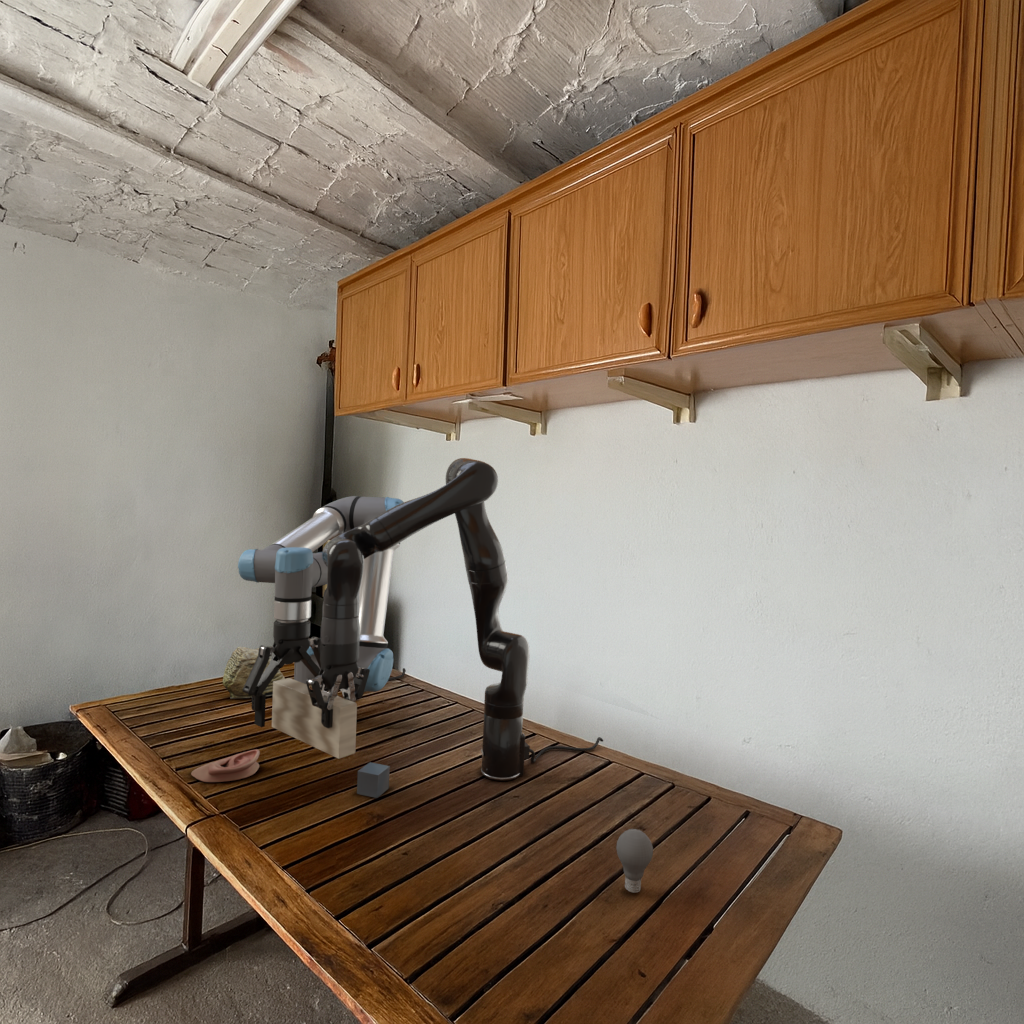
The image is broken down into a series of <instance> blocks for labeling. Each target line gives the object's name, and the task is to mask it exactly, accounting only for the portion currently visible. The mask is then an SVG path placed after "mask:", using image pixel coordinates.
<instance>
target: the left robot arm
mask: <svg viewBox="0 0 1024 1024" xmlns="http://www.w3.org/2000/svg"><path fill="white" fill-rule="evenodd" d="M404 502H405V501H403V500H402V499H400V498H397V497H389V496H386V497H385V496H359V495H351V496H346V497H342V498H339V499H337V500H334V501H332V502H329V503H327V504H325V505H323V506H321V507H320V508H318V509H316V511H315V512H314V513H313V515H312V517H311V518H309V519H308V520H307V521H305V522H304V523H302V524H300V525H299V526H297V527H295V528H294V529H292V530H291V531H289V532H287V534H284V535H283V536H282V537H280V538H278V539H277V540H275V541H274V542H273V543H271V544H269V545H267V546H265V547H264V548H263V549H259V548H254V549H251V548H249V549H246V550H244V551H243V552H242V553H241V554H240V556H239V558H238V561H237V562H238V563H237V569H238V575H239V576H240V578H241V579H243V580H244V581H246V582H253V583H256V584H258V583H267V584H274V604H273V605H274V606H273V607H274V608H273V618H274V619H275V620H274V621H273V627H272V628H273V630H272V631H273V632H272V636H273V644H272V645H268V646H266V645H263V644H262V645H260V646H259V647H258V648H259V652H258V657H257V659H256V661H255V664H254V666H253V668H252V670H251V672H250V674H249V677H248V679H247V681H246V683H245V685H244V687H243V692H245V693H247V694H249V695H252V698H251V710H252V711H254V725H255V726H257V727H260V728H264V727H266V702H267V701H266V700H267V696H266V695H264V694H262V693H263V692H264V691H265V689H266V688H267V686H268V685H269V683H270V682H271V681H272V679H273V678H274V676H275V675H276V673H277V672H278V670H281V669H282V668H283V667H284V666H285V665H291V664H293V663H294V672H293V679H294V680H296V681H299V682H302V683H304V684H306V680H307V679H309V678H310V679H313V678H315V677H316V676H318V675H319V672H320V669H321V663H320V638H321V637H317V636H311V621H310V618H311V617H312V588H317V587H321V586H325V585H327V574H328V567H327V566H326V565H325V564H324V562H323V559H322V552H323V551H318V552H315V551H316V550H318V549H319V548H320V547H322V546H323V545H324V544H327V543H328V542H329V541H330V540H332V539H333V538H335V537H337V536H339V535H341V534H343V533H345V532H347V531H349V530H352V529H354V528H356V527H359V526H361V525H363V524H365V523H367V522H368V521H370V520H371V519H373V518H375V517H376V516H378V515H380V514H382V513H383V512H385V511H387V510H389V509H391V508H393V507H395V506H397V505H399V504H401V503H404ZM400 546H401V542H400V543H398V544H397V545H395V546H393V547H392V548H390V549H388V550H386V551H383V552H378V553H374V554H372V555H371V556H369V557H367V558H365V559H364V568H363V575H362V581H361V586H360V591H359V623H360V639H359V660H358V662H357V665H358V667H364V668H367V669H369V670H370V672H369V676H368V679H367V683H366V686H365V690H364V693H366V692H372V693H377V692H379V691H381V690H382V689H383V688H384V687H385V685H386V684H387V683H388V682H390V681H394V680H398V679H401V678H403V677H404V676H405V674H406V672H407V670H406V668H405V667H402V672H401V674H402V675H401V674H399V675H396V676H392V677H391V675H392V670H393V668H394V667H393V666H394V661H395V659H394V653H393V651H392V650H391V648H388V645H389V642H388V640H387V639H386V638H385V636H384V635H385V634H384V632H385V624H386V618H387V611H388V610H387V608H388V600H389V595H390V594H389V593H390V585H391V577H392V571H393V570H392V569H393V562H394V561H393V560H394V554H395V551H396V550H397V549H398V548H400ZM310 636H311V638H309V637H310ZM272 655H273V656H272ZM269 658H271V660H270V664H269V665H268V667H267V668H266V669H265V667H266V665H267V663H268V661H269ZM264 670H265V671H264ZM355 677H356V676H355ZM354 680H355V678H354V679H353V681H354ZM321 685H322V687H321V688H320V689H321V690H322V688H323V682H321ZM358 689H359V688H358ZM329 691H330V692H331V690H329ZM337 696H339V695H338V694H337Z"/></svg>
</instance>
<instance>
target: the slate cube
mask: <svg viewBox="0 0 1024 1024" xmlns="http://www.w3.org/2000/svg"><path fill="white" fill-rule="evenodd" d="M390 769H391V766H390V765H386V764H381V763H376V762H371V761H370V762H368V763H367V764H365V765H363V766H362V767H361V768H360V769H359V770H357V779H356V780H357V781H356V794H357V795H361V796H366V797H370V798H375V799H378V798H380V796H382V795H383V794H384V793H385V792H387V791H388V790H389V789H390V771H391V770H390Z"/></svg>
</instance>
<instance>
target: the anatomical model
mask: <svg viewBox="0 0 1024 1024" xmlns="http://www.w3.org/2000/svg"><path fill="white" fill-rule="evenodd" d="M260 754H261V752H260V749H257V748H256V749H251V750H247V751H243V752H240V753H236V754H234V755H231V756H228V757H225V758H222V759H219V760H216V761H211V762H209V763H206V764H204V765H201V766H198V767H197V768H195V769H193V770H192V771H191V773H190V775H191V776H192V777H193V778H194V779H196V780H198V781H201V782H203V783H221V782H230V781H231V782H233V781H237V780H241V779H246V778H248V777H250V776H253V775H254V774H256V772H257V771H258V770H259V768H260V764H259V762H258V759H259V757H260Z"/></svg>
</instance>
